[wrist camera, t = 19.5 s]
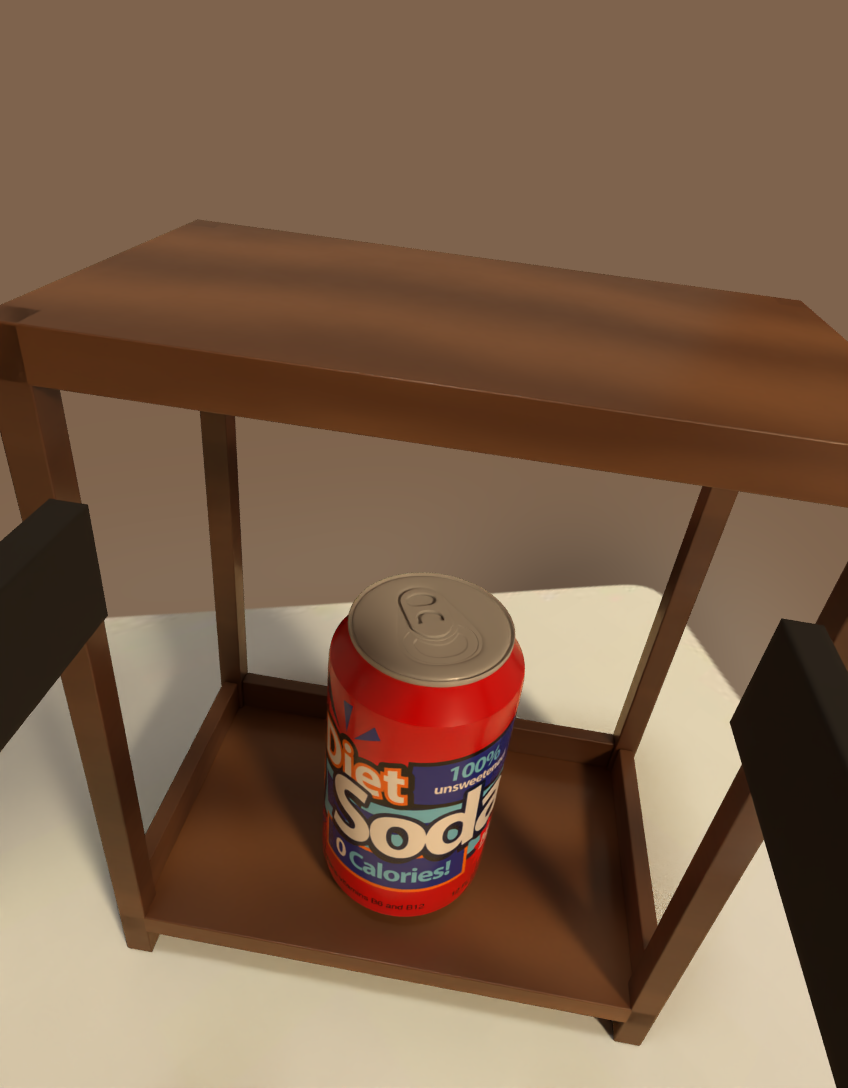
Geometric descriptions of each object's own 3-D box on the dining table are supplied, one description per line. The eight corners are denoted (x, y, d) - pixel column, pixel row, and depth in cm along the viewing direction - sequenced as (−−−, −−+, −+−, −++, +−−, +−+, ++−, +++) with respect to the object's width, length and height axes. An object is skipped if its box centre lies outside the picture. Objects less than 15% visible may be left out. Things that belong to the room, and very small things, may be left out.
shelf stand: (640, 1046, 33) (990, 464, 16) (127, 947, 34) (-30, 316, 18) (613, 790, 44) (801, 300, 28) (232, 724, 46) (196, 219, 29)
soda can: (448, 772, 40) (488, 552, 32) (503, 904, 34) (569, 676, 26) (308, 800, 38) (312, 571, 30) (340, 948, 32) (356, 711, 24)
